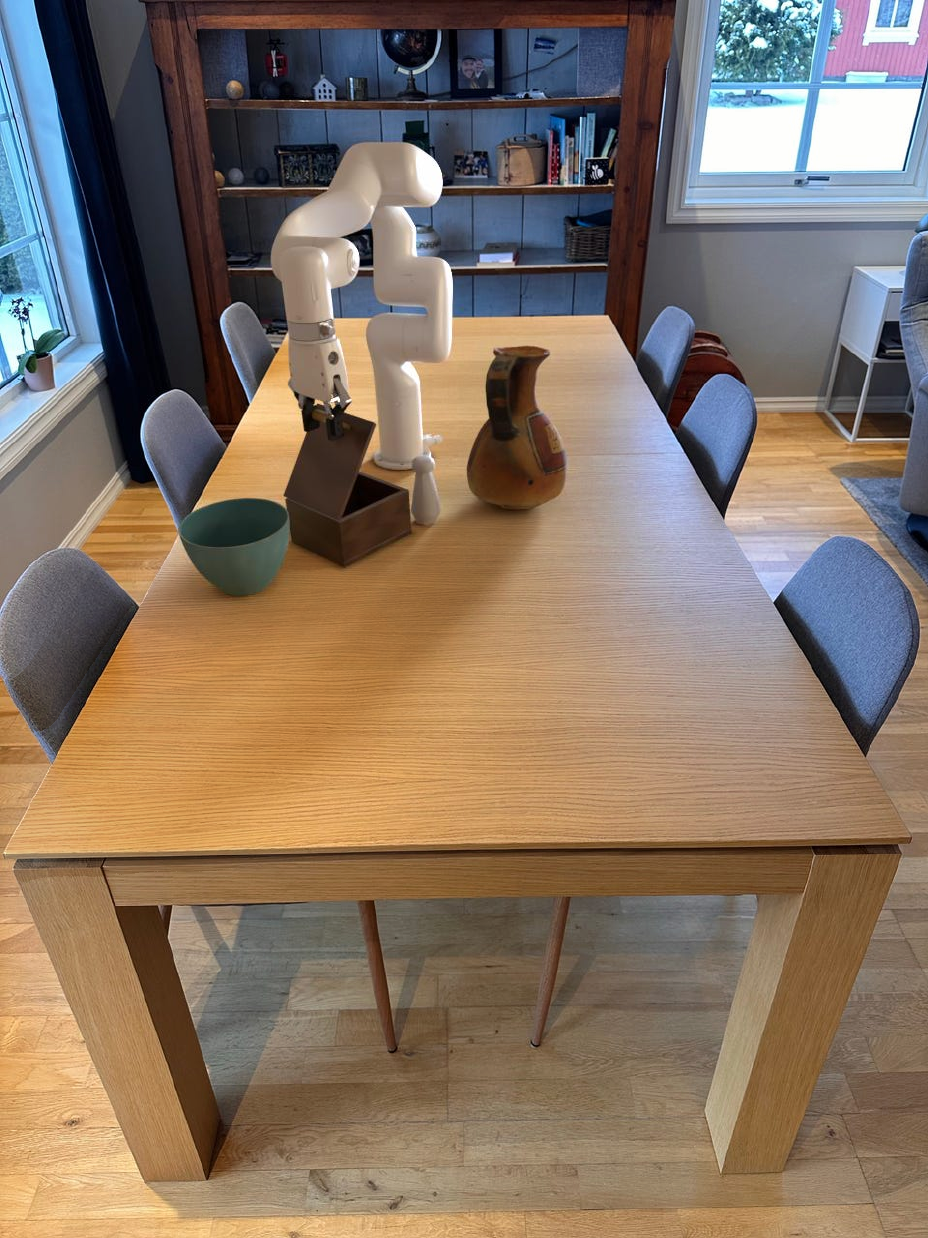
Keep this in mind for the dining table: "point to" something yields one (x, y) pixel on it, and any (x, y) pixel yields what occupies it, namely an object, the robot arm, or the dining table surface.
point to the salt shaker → (424, 492)
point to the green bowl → (237, 543)
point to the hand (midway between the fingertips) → (323, 432)
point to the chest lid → (329, 464)
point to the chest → (354, 522)
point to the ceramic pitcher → (516, 437)
